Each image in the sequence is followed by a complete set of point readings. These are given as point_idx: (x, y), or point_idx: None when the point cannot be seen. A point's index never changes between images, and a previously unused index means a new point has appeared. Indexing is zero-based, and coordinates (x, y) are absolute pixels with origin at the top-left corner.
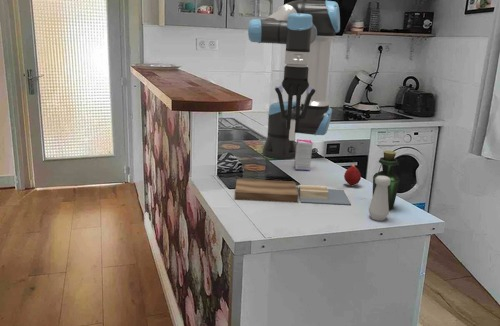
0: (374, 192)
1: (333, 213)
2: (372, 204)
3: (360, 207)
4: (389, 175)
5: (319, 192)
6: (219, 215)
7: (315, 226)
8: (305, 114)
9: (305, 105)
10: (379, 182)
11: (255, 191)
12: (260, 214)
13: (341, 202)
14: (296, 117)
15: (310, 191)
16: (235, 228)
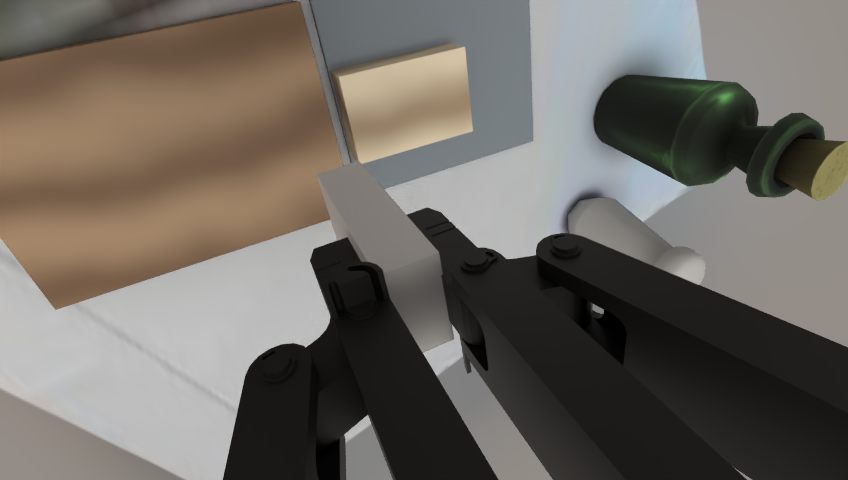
0: (626, 254)
1: (470, 238)
2: None
3: (555, 146)
4: (727, 170)
5: (436, 140)
6: (110, 437)
7: None
8: (611, 340)
9: (715, 445)
10: None
11: (152, 255)
12: (246, 359)
13: (503, 137)
14: (482, 356)
15: (401, 151)
16: (215, 470)
